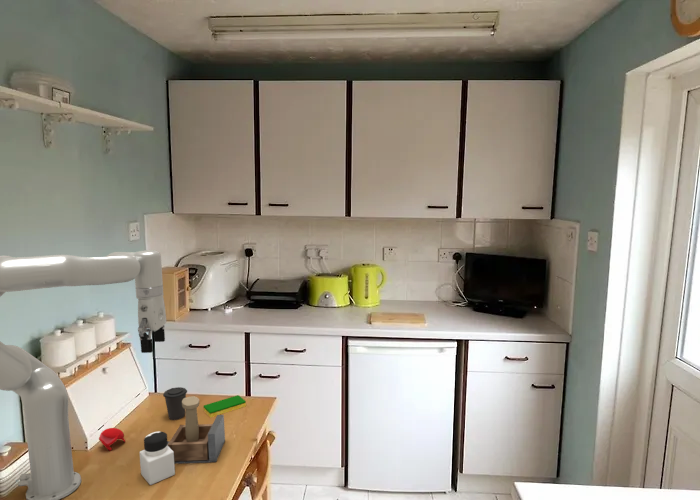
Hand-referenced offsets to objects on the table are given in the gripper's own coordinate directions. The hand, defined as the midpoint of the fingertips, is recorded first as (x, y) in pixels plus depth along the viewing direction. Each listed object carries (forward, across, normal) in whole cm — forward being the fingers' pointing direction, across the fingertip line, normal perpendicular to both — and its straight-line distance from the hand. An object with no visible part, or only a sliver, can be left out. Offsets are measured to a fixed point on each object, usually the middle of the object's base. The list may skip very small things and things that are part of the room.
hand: (153, 346), depth 138 cm
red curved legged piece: (+34, +3, +16) cm, 37 cm away
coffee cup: (+34, +21, +2) cm, 40 cm away
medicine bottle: (+34, -13, -4) cm, 36 cm away
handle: (+32, -3, -11) cm, 34 cm away
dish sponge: (+34, +26, -14) cm, 45 cm away
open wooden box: (+33, -2, -11) cm, 35 cm away
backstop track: (+33, -2, -9) cm, 34 cm away
